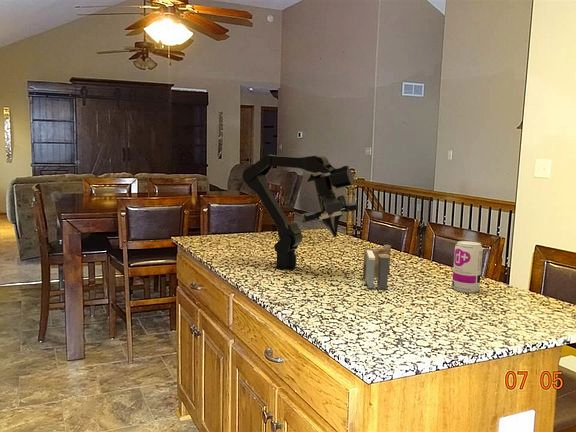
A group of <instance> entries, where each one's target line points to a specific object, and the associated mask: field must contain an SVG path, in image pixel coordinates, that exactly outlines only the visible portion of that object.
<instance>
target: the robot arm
mask: <svg viewBox="0 0 576 432" xmlns="http://www.w3.org/2000/svg"><path fill="white" fill-rule="evenodd" d="M273 167H282V168H293V169H300V170H303V171H306V172H310V173H313V174H310V176H309V177H308V178H307V183H310V182H313V184H314V188H315V193H316V198H317V201H318V206H319V211H317V212H315V210H314V211H309V212H305V213H302V214H301V221H302V223H306V222H307V223H308V222H312V221H315V220H316V219H317V218H319V219H318V221H319V222H322V223H323V224H324V225H325V226H326V227H327V229H328V230H329V232H330V233H331V235H332V237H333V238H337V236H338V226H339V222H340V218H341V217H343V212H344V213H347V212H353V211H357V210H359V207H358V206H359V205H358V204H357V202H356V201H352V202H348V203H347V201H346V197H345V196H344V195H343V194H342V195H338V196H336V193H335V192H334V189H333V187H334V188H335V189H336V190H338V189H343V188H347V187H351V186H354V184H355V176H354V174H353V172H352V171H351V169H350V167H349V165H343V166H341V167H339V168H336V167H334V166H333V165H332V164H331V163H330V162H329V159H328V158H327V157H326V156H325V155H310V156H301V157H299V156H298V157H297V156H285V155H274V154H265V155H263V156H262V157H261V158H260V159H259V160H258V161H256V162H255V163H253V164H252V165H251V166H250V167H249V168H246V169H245V170H244V171H243V172H242V176H241V178H242V181H243V183H245V185H246V186H247V187H248V188H249V189H250V190H252V191H253V192H254V193H255V194H256V196H257V197H258V198H259V201H260V202H261V203H262V205H263V207H264V208H265V210H266V212H267V213H268V215H269V216H270V218H271V220H272V221H273V223H274V225H275V226H276V229H277V235H278V239H279V240H278V241H277V242H276V243H275V244H273V248H274V251H275V252H276V265H275V266H274V267H275V269H280V270H281V269H282V270H294V269H295V268H296V267H297V258H298V257H297V256H298V254H297V253H296V250H297V249H298V246H300V244H301V243H302V241H303V239H304V236H303V230H302V229H301V228H300V227H299V225H298V222H296V221H295V222H291V221H289V219H288V218H287V216H286V215H285V212H283V209H282V208H281V206H280V204H279V203H278V201H277V199H276V198H275V196H274V195H273V193H272V191H271V190H270V189H269V184H268V178H267V175H268V174H269V173H270V171H271V169H272V168H273ZM318 173H319V174H318ZM315 174H316V175H315ZM326 174H328V175H326ZM330 215H331V216H330Z"/></svg>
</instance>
